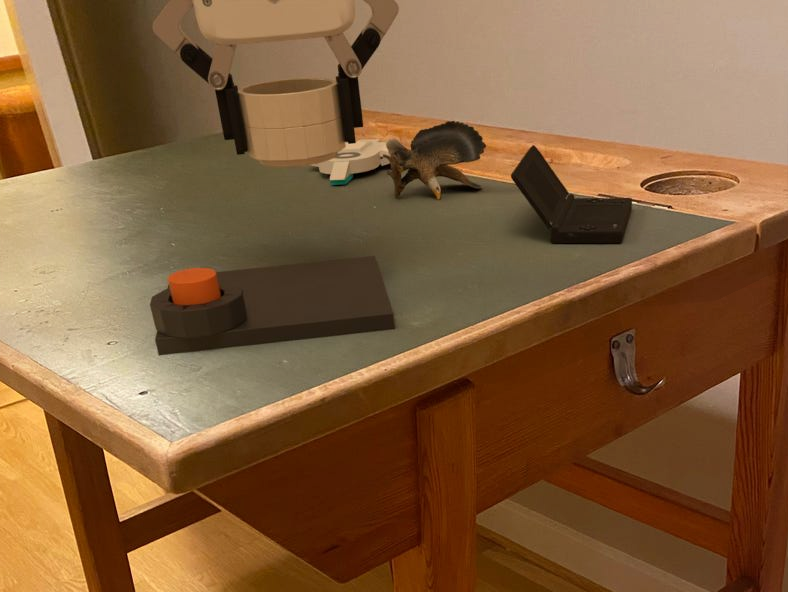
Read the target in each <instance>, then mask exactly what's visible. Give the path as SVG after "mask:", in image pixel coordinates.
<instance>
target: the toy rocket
mask: <svg viewBox="0 0 788 592" xmlns="http://www.w3.org/2000/svg"><path fill="white" fill-rule="evenodd" d="M386 143H387V141H382V139H381V138H373V139H369V138H368V139H359V140H358V139H357V140H356V143H353V144H348V142H345V145H346V147H345V148H344V149H342V150H341V151H338V155H337V156H336V157H335V158H333V159H331V160H328V161H325V162H321V163H316V164H311V165H310V166H313V167H316V168H318V170H319V172H320V173H321V174H326V175H330V176H329V181H330V185H331V186H333V185H335V186H337V185H347V184H348V183H349V182H350V181H351V180H352V179H353V178H354V174H359V173H365V172H369V171H371V170H375V169H376V168H378V167H379V166H380V165H381V167H383V166H386V165H389V164H390V162H389V160H388V159H387V158H385V157H383V154H385V155H388V156H390V157H391V155H390V154H389V152H388V149H387V147H386Z"/></svg>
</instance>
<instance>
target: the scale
mask: <svg viewBox="0 0 788 592" xmlns="http://www.w3.org/2000/svg"><path fill="white" fill-rule="evenodd" d="M379 267H380V266H379V264H378V261H377V258H376V255H368V256H359V257H349V258H340V259H331V260H329V259H328V260H321V261H311V262H300V263H292V264H282V265H281V264H280V265H273V266H272V265H271V266H263V267H252V268H243V269H241V268H240V269H234V270H232V269H231V270H224V271H223V270H222V271H215V272H216V274H217V279H218V284H219V289H220V294H221V297H220V298H219V299H217V300H214V301H211V302H207V303H204V304H194V305H177V304H174V303H173V299H172V295H171V291H170V286H169V283H168V284H167V288H165V289H164V290H161V291H160V292H157V293H156V294H155V295H153V296H152V297H151V299H150V303H149V307H150V311H151V316H152V319H153V323H154V327H155V330H156V334H155V338H154V342H155V346H156V349H157V353H158V356H166V355H175V354H183V353H184V354H185V353H194V352H195V353H196V352H202V351H211V350H221V349H229V348H240V347H249V346H257V345H266V344H267V345H268V344H274V343H275V344H276V343H283V342H285V343H286V342H293V341H300V340H301V341H302V340H310V339H311V340H313V339H321V338H328V337H330V338H331V337H338V336H339V337H340V336H347V335H355V334H364V333H366V334H367V333H373V332H374V333H375V332H383V331H392V330H396V327H395V317H394V311H393V308H392V305H391V302H390V298H389V296H388V292H387V288H386V286H385V282H384V279H383V276H382V273H381V271H380V268H379Z"/></svg>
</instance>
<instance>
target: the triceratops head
mask: <svg viewBox="0 0 788 592" xmlns="http://www.w3.org/2000/svg"><path fill="white" fill-rule="evenodd" d="M483 139H484V138H483V136H482V135H480V132H479V131H478V130H476V129H475V127H473V126H471V125H470V126H469V124H468V123H464V122H460V121H455V120H451V121H450V120H447V121H445V123H441V124H437V125H434V126H432V127H429V128H424V129H420V130H418V132H417V133H416V134H415V136H414V137H413V139H412V140H411V142H410V149H408V148H407V147H406V146H404V145H403V144H402V143H400V141H399V140H398V139H396V138H390V139H389V140H387V141H386V142H387V143H386V147H387V149H388V152H389V154H390V155H391V157H390V156H388V155H385V154H383V157H385V158H387V159H388V160H389V162H390V163H389V164H390V168H391V170H387V171H386V175H387V176H389V177H390V178H391V179H392V181H393V184H394V194H393V195H394V198H395V199H397V198H399V197H401V193H403V192H404V190H405V188H406V186H407V185H408V184H409V183H412V182H413V181H415V180H419V181H420V182H421V183H423V184H424V185H425V186H427V188H429V189H430V190H431V191H432V193H433V194H434V195H435V197H436V200H438V201H439V200H440V199H441V191H442V190H441V186H440V184H439V181H438V180H437V177H438V178H439V177H441V178H443V177H444V178H447V179H449V180H452V181H455V182H459V183H461V184H464V185H466V186H468V187H470V188H473V189H475V190H477V189H478V190H481V189H483V186H482V185H480V184H478V183H475V182H473V181H471V180H470V179H469V178H468V177H467V176H466V175H465V174H464V173H463V172H462V171H461V170H459V168H456V167H454V166H452V165H458V164H462V163H472V162H475V161H478V160H480V159H481V155H482V154H484V153H485V149H486V148H487V144H486V143H485V142H484V141H483ZM405 171H406V173H405V174H404V176H402V173H403V172H405Z"/></svg>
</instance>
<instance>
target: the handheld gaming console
mask: <svg viewBox="0 0 788 592" xmlns="http://www.w3.org/2000/svg"><path fill="white" fill-rule="evenodd" d="M510 178H511V180H512V181H513V183H514V184H515V185H516V187H517V188H518V190H519V191H520V193H521V194H522V195H523V197H524V198H525V199H526V201H527V202H528V203H529V205H530V206H531V207H532V209H533V210H534V211H535V212H536V214H537V216H538V217H539V218H540V220H541V221H542V223H543V224H544V225H545V227H546V228H547V229H548V230H550V239H549V240H550V241H549V242H550V243H551V244H619V245H620V244H622V242H623V241H624V236H625V233H626V230H627V226H628V224H629V221H630V220H629V219H630V216H631V212H632V210H633V209H632V208H633V198H632V197H581V198H579V197H577V198H575V196H574V194H573V193H569V191H568V189H567V188H566V187H565V185H564V184H563V182H561V180H560V178H559V177H558V175H557V174H556V173H555V171H554V170H553V169H552V167H551V166H550V164H549V163H548V161H547V160H546V159H545V157H544V156H543V153H541V151H539V149H538V148H537V146H536V145H534V144H532V145H531V146H530V147H529V149H528V150H527V151H526V153H525V154H524V155H523V157H522V159H520V161H519V163H518V164H517V165H516V166H515V168H514V170H513V171H512V172H511V174H510Z"/></svg>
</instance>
